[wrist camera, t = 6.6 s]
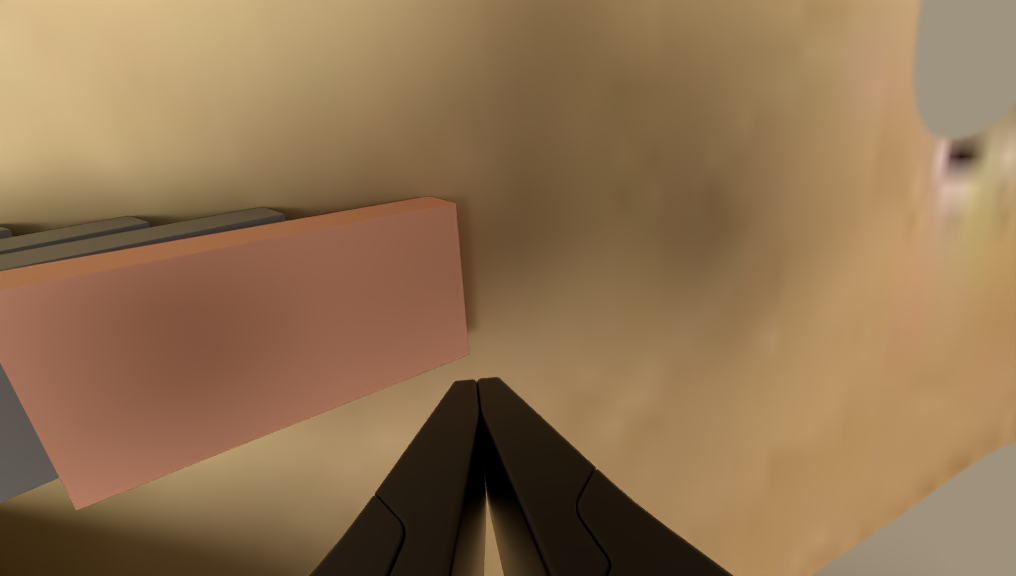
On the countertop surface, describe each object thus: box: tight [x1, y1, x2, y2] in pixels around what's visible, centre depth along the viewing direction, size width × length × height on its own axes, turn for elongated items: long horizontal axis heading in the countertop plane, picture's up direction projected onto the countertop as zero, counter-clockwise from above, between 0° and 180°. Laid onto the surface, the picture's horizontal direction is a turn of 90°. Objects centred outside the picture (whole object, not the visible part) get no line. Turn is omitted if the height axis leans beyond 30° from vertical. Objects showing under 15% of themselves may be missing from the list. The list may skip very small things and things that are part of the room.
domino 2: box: [0, 207, 286, 503], centre depth 12 cm, size 2×5×10 cm
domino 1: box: [0, 196, 469, 510], centre depth 13 cm, size 2×5×10 cm
